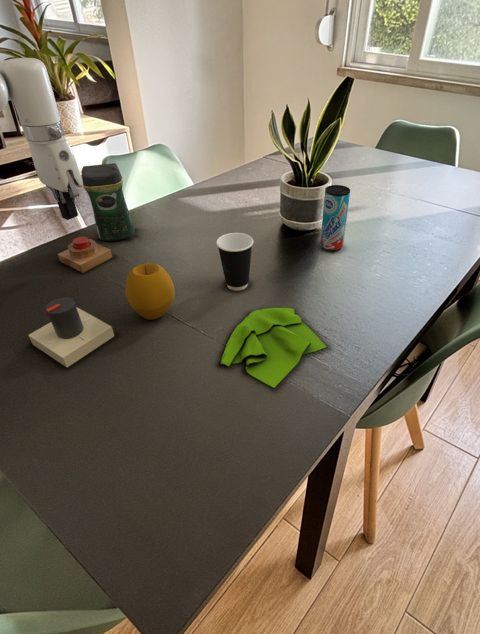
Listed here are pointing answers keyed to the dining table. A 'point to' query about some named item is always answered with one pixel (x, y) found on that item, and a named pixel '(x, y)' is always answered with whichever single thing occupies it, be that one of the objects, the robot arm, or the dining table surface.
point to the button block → (85, 256)
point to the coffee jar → (108, 201)
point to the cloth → (270, 344)
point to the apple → (149, 290)
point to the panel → (72, 339)
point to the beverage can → (334, 217)
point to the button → (81, 243)
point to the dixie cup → (235, 259)
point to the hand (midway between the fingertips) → (70, 217)
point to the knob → (64, 318)
